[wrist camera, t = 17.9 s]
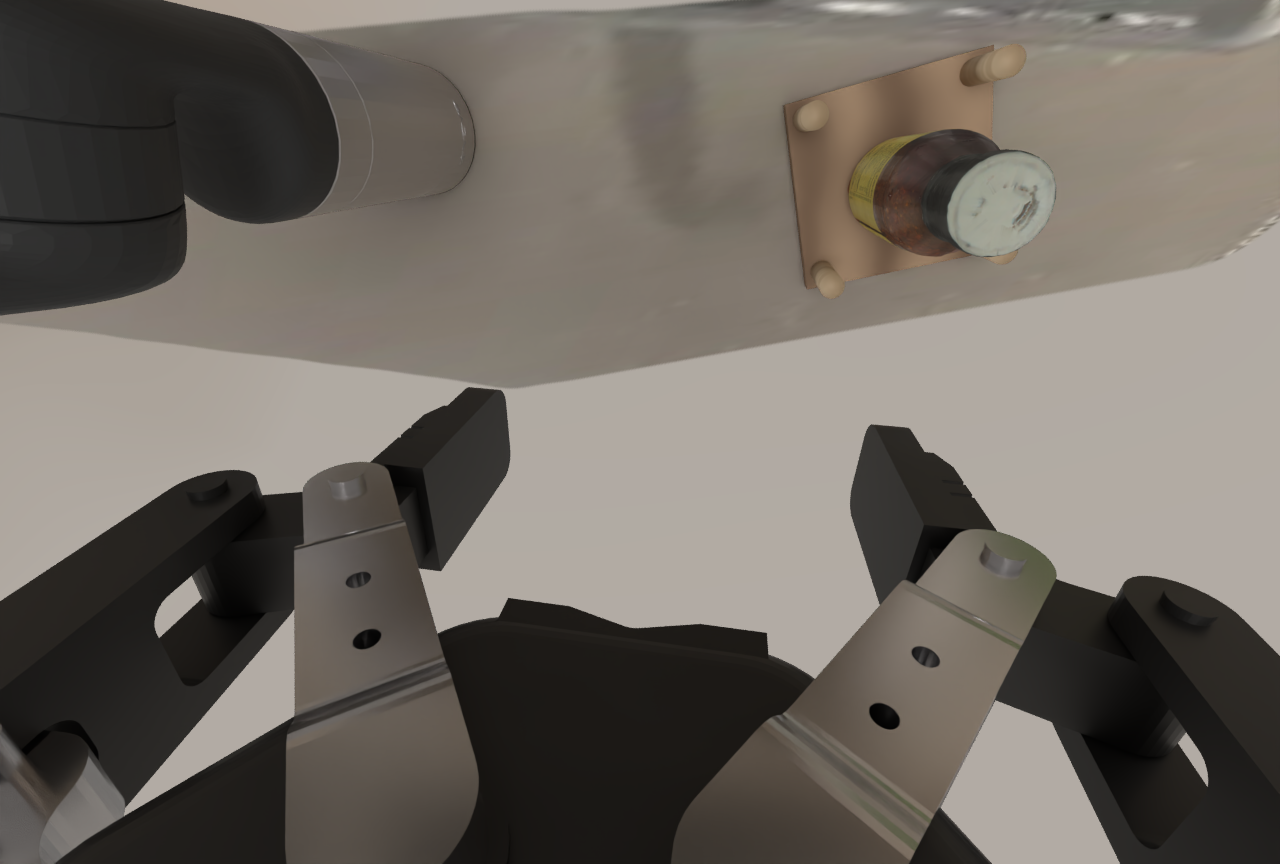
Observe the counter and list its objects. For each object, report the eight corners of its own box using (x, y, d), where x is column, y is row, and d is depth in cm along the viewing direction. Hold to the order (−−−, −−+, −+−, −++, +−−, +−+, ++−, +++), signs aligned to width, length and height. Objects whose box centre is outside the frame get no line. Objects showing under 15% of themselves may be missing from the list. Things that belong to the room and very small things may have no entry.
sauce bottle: (954, 189, 39) (1131, 226, 22) (873, 249, 42) (975, 325, 24) (903, 111, 38) (1052, 82, 20) (823, 178, 40) (894, 204, 23)
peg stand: (804, 285, 45) (816, 307, 39) (783, 105, 40) (792, 99, 34) (981, 248, 42) (1024, 266, 36) (984, 48, 37) (1035, 29, 30)
